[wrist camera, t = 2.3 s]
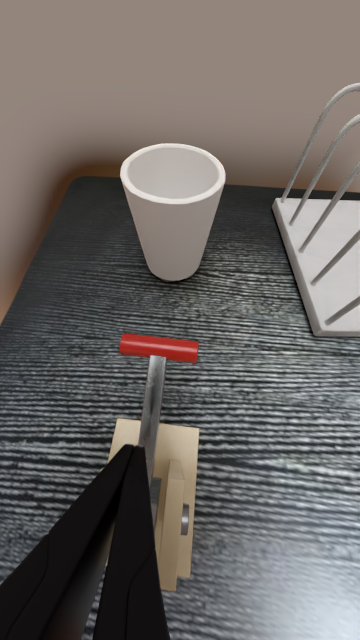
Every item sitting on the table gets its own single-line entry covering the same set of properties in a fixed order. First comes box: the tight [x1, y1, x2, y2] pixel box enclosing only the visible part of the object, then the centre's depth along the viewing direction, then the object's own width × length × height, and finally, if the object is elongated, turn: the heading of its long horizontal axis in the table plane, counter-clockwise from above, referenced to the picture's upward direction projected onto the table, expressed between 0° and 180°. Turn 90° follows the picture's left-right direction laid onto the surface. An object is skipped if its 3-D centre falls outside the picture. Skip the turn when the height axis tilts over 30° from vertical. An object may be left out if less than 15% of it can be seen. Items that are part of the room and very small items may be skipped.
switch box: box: [99, 418, 199, 592], centre depth 15 cm, size 10×8×9 cm
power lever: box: [120, 333, 199, 536], centre depth 13 cm, size 12×5×2 cm, turn 173°
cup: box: [120, 144, 225, 282], centre depth 25 cm, size 10×10×13 cm
